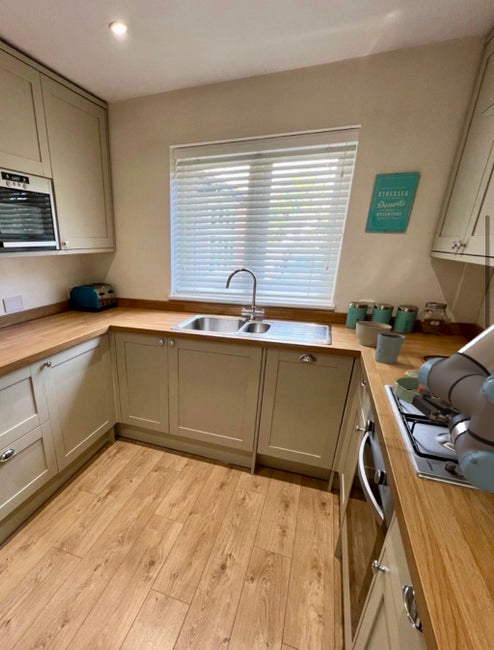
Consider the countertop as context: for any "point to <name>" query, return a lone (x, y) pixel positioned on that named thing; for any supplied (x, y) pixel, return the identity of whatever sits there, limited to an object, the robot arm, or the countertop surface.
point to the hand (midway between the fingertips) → (457, 398)
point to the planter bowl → (370, 332)
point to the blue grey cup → (388, 347)
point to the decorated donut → (411, 373)
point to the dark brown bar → (444, 405)
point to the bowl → (408, 383)
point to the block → (422, 390)
